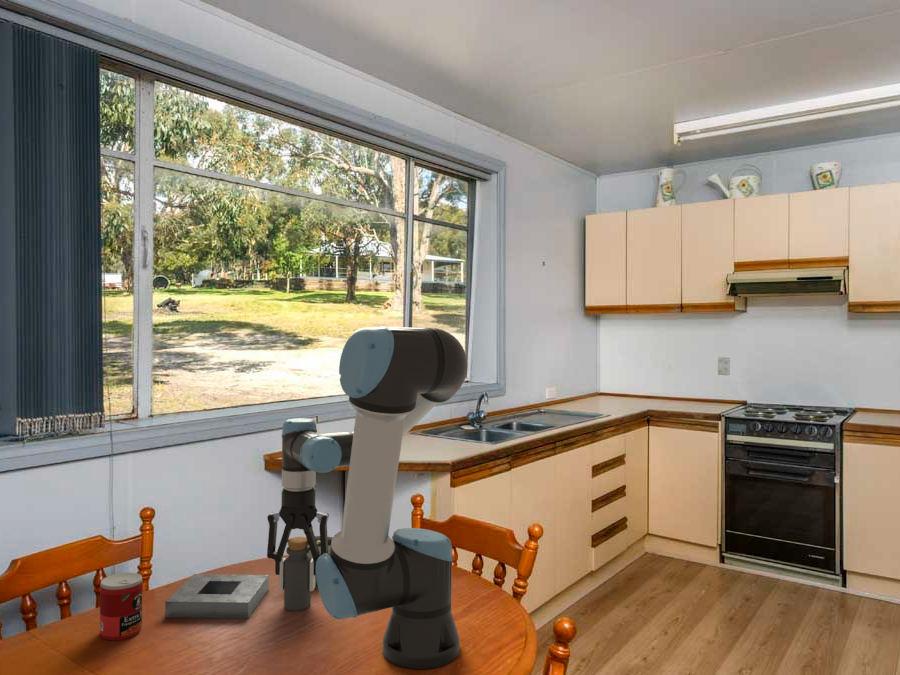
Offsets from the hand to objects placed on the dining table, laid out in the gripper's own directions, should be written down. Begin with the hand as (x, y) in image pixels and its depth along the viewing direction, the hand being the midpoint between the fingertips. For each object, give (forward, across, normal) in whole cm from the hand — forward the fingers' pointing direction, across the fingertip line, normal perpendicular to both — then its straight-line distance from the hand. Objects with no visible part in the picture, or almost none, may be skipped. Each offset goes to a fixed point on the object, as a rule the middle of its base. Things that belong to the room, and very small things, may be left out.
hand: (297, 588), depth 148 cm
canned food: (+4, +33, +14) cm, 36 cm away
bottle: (+4, 0, 0) cm, 4 cm away
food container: (+4, +1, -15) cm, 16 cm away
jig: (+4, +18, -1) cm, 18 cm away
